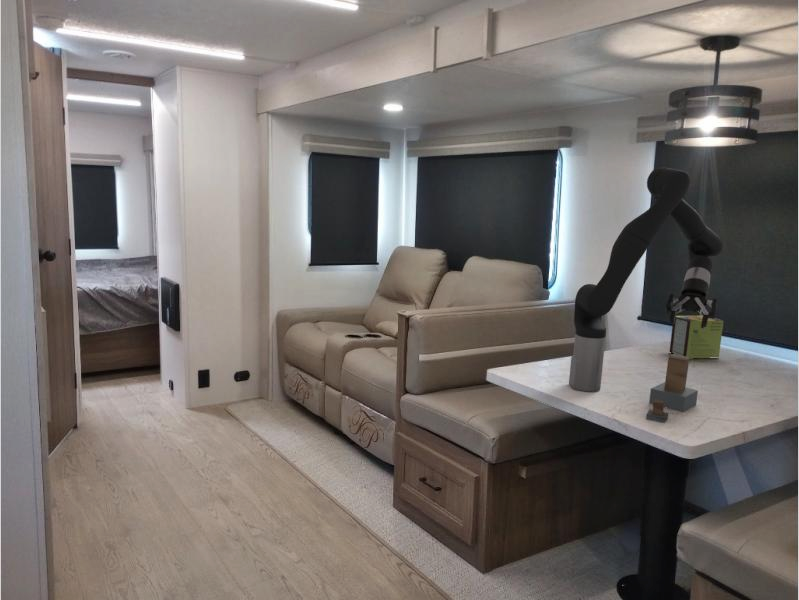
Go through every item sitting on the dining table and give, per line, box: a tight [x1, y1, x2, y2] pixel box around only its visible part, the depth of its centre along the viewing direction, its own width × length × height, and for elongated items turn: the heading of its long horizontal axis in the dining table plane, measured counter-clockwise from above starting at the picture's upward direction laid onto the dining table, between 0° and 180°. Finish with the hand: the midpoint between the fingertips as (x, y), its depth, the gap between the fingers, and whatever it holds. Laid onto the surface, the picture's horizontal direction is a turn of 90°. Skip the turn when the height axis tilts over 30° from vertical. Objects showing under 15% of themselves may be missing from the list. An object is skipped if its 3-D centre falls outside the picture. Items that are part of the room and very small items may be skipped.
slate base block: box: [648, 381, 699, 413], centre depth 185 cm, size 10×10×5 cm
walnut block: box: [664, 353, 690, 393], centre depth 184 cm, size 5×5×10 cm
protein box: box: [669, 315, 724, 360], centre depth 246 cm, size 10×15×16 cm
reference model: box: [645, 399, 669, 424], centre depth 172 cm, size 5×5×5 cm
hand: (687, 324), depth 192 cm, fingers open, 8 cm apart
